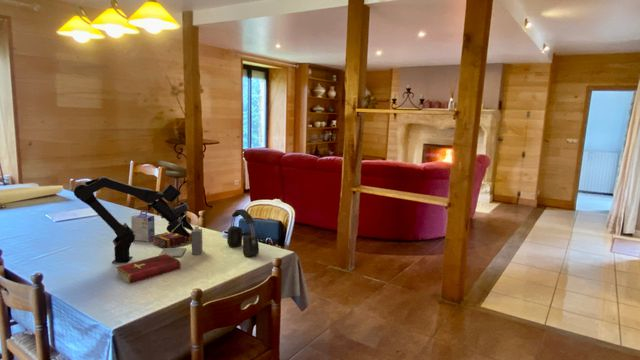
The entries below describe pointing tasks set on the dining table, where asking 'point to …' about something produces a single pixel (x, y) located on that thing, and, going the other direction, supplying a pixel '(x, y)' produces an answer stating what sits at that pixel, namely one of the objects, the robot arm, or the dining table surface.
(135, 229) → the ink cartridge box
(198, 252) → the grey tall piece
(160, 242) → the decorative book
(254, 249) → the headphones
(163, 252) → the plate
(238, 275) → the dining table surface
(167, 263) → the hardcover book
